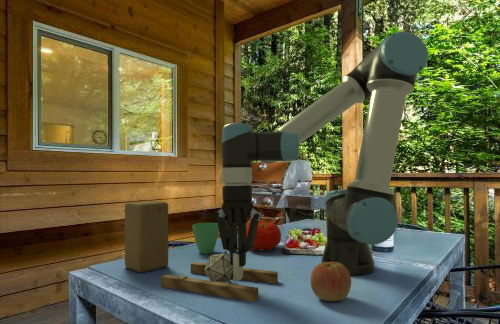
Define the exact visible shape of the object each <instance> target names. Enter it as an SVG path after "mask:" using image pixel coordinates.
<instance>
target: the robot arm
mask: <svg viewBox="0 0 500 324" xmlns="http://www.w3.org/2000/svg"><path fill="white" fill-rule="evenodd" d="M428 61H429V51H428V48H427V46H426V43H424V42H423V41H422V39H421V38H420V37H419V36H418V35H417V34H415V33H414V32H413V33H412V32H409V31H396V32H394V33H391V34H390V35H389V36H387V37H386V38H383V40H382V41H381V42H380V44H378V45H377V46H376V47H375V48H374V49H372V50H371V51H370V52H369V53H367V55H365V56H364V57H363V59H362V60H361V61H360V62H359V63H358V64H357V65H356V66H355V67H354V68H353V69H352V70H351V71H350V72H348V73H347V74H346V75H344V76H343V77H342V79H341V83H340V84H337V85H336V86H335V87H334V88H332V89H331V90H330V91H328V92H327V93H325V94H324V95H323V96H322V97H320V98H318V99H317V100H315V101H314V102H313V103H312V104H310V105H309V106H307V107H306V108H305V109H303V110H302V111H300V112H299V113H297V114H296V115H295V116H293V117H292V118H291V119H289V120H288V121H287V122H285V123H284V124H283V125H281V126H280V127H278V128H277V129H276V130H275V131H262V132H261V131H260V132H259V131H253V130H252V126H251V124H249V123H245V122H244V123H243V122H242V123H241V122H233V123H227V124H225V125H224V126H223V127H222V132H221V133H222V135H221V156H222V157H221V159H222V160H221V164H222V166H221V167H222V168H221V169H222V172H221V174H222V177H221V178H222V179H221V182H222V184H224V185H223V186H222V204H221V208H220V209H219V210H216V211H214V212H213V217H214V218H215V220H216V223H217V224H218V228H219V232H218V233H219V236H220V241H221V246H222V249H223V250H224V251H228V252H229V259H230V264H231V265H233V278H232V280H233V281H240V280H243V279H242V278H243V268H244V266H246V264H247V252H248V253H249V251H252V250H254V249H253V246H254V241H255V236H256V232H257V227H258V224H259V223H260V220H261V218H263V213H262V212H259V211H257V210H256V209H255V208H254V204H253V187H252V185H250V184H251V183H253V176H252V175H253V174H252V167H253V166H252V163H253V162H263V163H264V164H269V165H270V164H274V163H276V162H289V161H290V162H293V161H296V160H297V159H298V158H299V154H300V152H299V151H300V144H302V143H303V142H304V141H306V140H307V139H308V138H311V136H313V135H314V134H315V133H317V132H319V131H320V130H321V129H323V128H324V127H325V126H327V125H328V124H329V123H330V122H332V121H334V120H335V119H336V118H338V117H339V116H340V115H342V114H343V113H345V112H346V111H347V110H349V109H350V108H352V107H353V106H354V105H356V104H363V103H364V102H365V101H367V100H368V99H369V102H368V108H367V113H366V117H365V124H364V129H363V134H362V139H361V145H360V150H359V155H358V159H357V165H356V171H355V175H354V180H352V181H351V182H350V183H349V184H346V185H347V186H346V189H335V190H330V191H328V192H327V193H326V195H325V196H326V197H325V202H324V203H325V212H326V214H325V215H326V216H325V217H326V218H325V219H326V242H325V243H326V244H325V246H324V250H323V253H322V256H321V261H320V262H321V263H324V262H337V263H341V264H342V265H344V266H345V267H346V268H347V269H348V271H349V273H350V276H362V275H363V276H364V275H369V274H372V273H374V271H375V260H374V257H373V255H372V251H371V248H370V246H369V245H379V244H382V243H384V242H386V241H387V240H390V238H391V237H392V236H393V235H394V233H395V232H396V230H397V227H398V224H399V217H398V216H399V215H398V212H397V210H396V208H395V206H394V199H395V193H394V191H393V190H392V189H391V187H390V185H391V179H392V178H391V177H392V174H393V173H392V172H393V167H394V163H395V158H396V157H395V156H396V153H397V152H396V151H397V147H398V140H399V136H400V130H401V124H402V120H403V113H404V109H405V104H406V98H407V96H408V95H409V94H411V93H413V92H414V90H415V85H416V80H417V75H418V74H419V73H420V72H422V71H423V70H424V68H425V67H426V65H427V63H428ZM226 218H227V219H226ZM249 218H250V223H249V224H250V226H249V231H248V236H247V240H246V227H247V226H248V219H249Z"/></svg>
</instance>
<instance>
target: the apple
mask: <svg viewBox="0 0 500 324" xmlns="http://www.w3.org/2000/svg"><path fill="white" fill-rule="evenodd" d="M351 276H352V275H350V273H349V271H348V269H347V268H346V267H345V266H344V265H342V264H341V263H337V262H324V263H318V264H317V265H315V266H314V267H313V269H312V270H311V274H310V286H311V290H312V293H313V294H314V295H315V296H316V297H317V298H318V299H319V300H322V301H326V302H339V301H343V300H344V299H346V298H347V297H348V295H349V293H350V291H351V288H352V277H351Z"/></svg>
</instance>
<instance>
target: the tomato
mask: <svg viewBox="0 0 500 324" xmlns="http://www.w3.org/2000/svg"><path fill="white" fill-rule="evenodd" d="M249 226H250V223H249V224H248V223H247V225H246V240H247V236H248V231H249ZM281 240H282V231H281V230H280V227H279V226H277V224H276V223H274V222H272V221H270V222H266V221H261V222H258V227H257V232H256V236H255V241H254V246H253V249H252V250H255V251H256V252H257V251H262V250H263V251H266V252H267V251H271V250H273V249H274V248H275V247H277V246H278V245H280V242H281Z"/></svg>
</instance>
